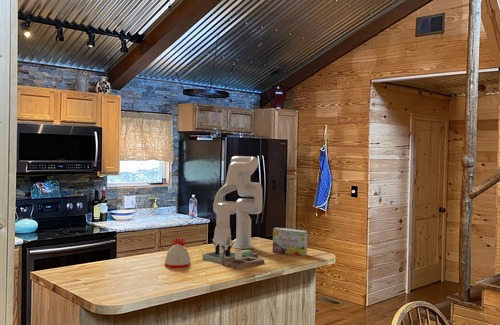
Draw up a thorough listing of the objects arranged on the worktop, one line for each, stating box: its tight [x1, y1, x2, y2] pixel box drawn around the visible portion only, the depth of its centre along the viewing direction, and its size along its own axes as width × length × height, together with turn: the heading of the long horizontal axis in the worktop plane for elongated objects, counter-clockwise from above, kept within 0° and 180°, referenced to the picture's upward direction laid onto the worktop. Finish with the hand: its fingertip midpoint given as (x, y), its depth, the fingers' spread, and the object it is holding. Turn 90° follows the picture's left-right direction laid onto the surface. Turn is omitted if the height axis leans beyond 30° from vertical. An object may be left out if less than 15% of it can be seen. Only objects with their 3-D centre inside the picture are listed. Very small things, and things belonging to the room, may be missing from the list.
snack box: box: [272, 227, 308, 257], centre depth 297 cm, size 21×6×15 cm, turn 62°
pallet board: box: [222, 256, 265, 271], centre depth 264 cm, size 12×20×3 cm, turn 136°
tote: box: [201, 251, 243, 265], centre depth 276 cm, size 16×16×4 cm
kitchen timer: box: [164, 237, 191, 269], centre depth 264 cm, size 14×14×15 cm
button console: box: [242, 251, 259, 258], centre depth 282 cm, size 9×9×3 cm
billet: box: [219, 245, 227, 259], centre depth 276 cm, size 4×4×8 cm
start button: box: [243, 249, 252, 255], centre depth 282 cm, size 4×4×4 cm
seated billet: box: [234, 249, 243, 264], centre depth 261 cm, size 4×4×8 cm
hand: (222, 255), depth 276 cm, fingers open, 7 cm apart
